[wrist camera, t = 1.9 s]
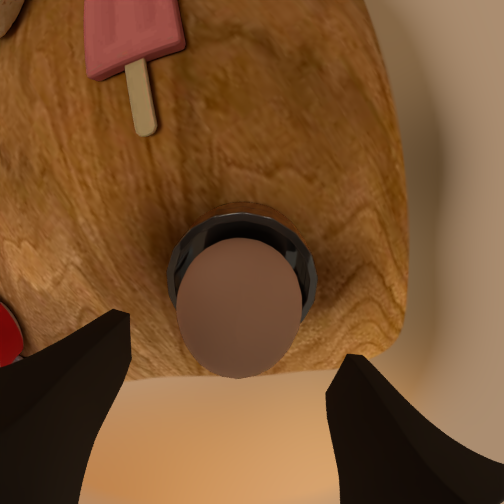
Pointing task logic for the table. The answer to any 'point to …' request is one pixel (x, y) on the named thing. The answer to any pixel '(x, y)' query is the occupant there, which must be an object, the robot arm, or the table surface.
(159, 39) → the popsicle
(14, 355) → the beverage can
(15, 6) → the food model
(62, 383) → the robot arm
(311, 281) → the pan
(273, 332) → the egg
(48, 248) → the table surface
